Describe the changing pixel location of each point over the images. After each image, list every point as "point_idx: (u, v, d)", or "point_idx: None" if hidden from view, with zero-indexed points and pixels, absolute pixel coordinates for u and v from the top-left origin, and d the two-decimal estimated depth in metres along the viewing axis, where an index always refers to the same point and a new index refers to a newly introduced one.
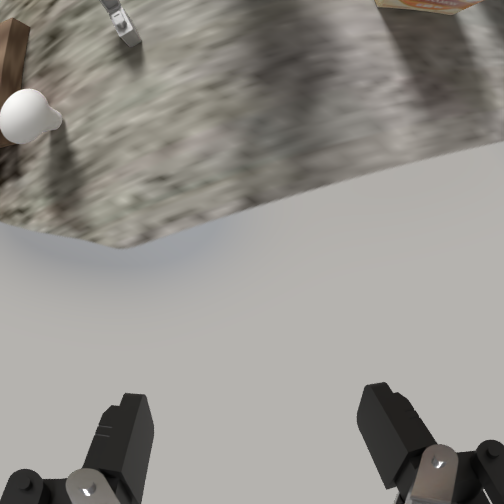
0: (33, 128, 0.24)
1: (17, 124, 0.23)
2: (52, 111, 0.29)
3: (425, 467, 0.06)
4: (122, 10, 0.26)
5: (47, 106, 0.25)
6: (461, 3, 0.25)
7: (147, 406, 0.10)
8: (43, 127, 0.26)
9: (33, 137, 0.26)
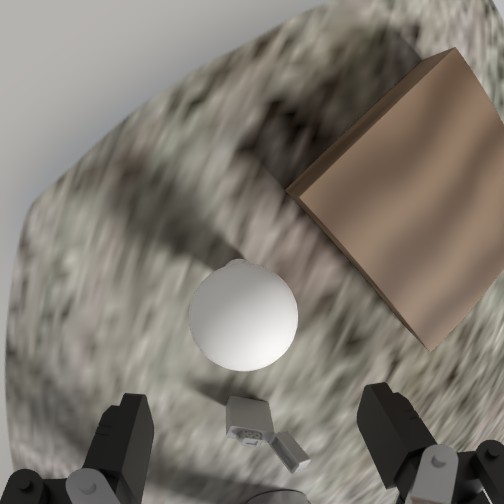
0: (191, 330, 0.17)
1: (212, 338, 0.15)
2: None
3: (425, 467, 0.06)
4: (261, 441, 0.26)
5: None
6: None
7: (147, 406, 0.10)
8: None
9: (190, 305, 0.17)
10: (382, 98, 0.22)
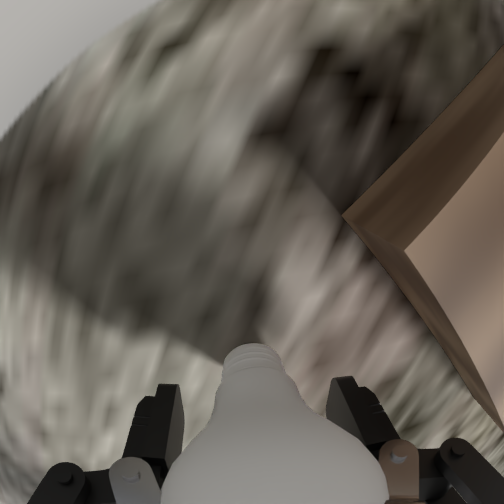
0: None
1: None
2: None
3: (385, 464, 0.06)
4: None
5: None
6: None
7: (180, 396, 0.11)
8: None
9: None
10: (486, 68, 0.10)
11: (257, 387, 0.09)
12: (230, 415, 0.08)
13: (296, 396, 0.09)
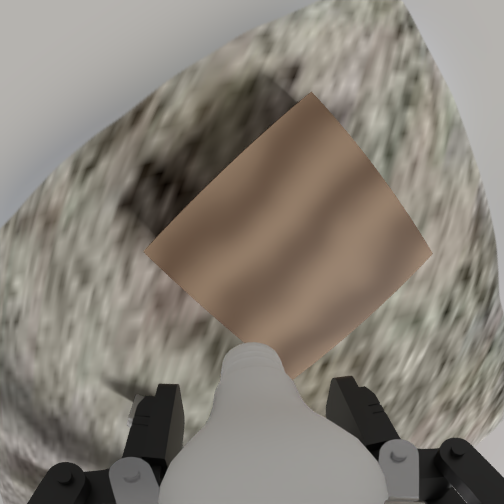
0: None
1: None
2: None
3: (385, 464, 0.06)
4: None
5: None
6: None
7: (180, 396, 0.11)
8: None
9: None
10: (243, 150, 0.27)
11: (256, 386, 0.09)
12: (228, 414, 0.08)
13: (295, 395, 0.09)
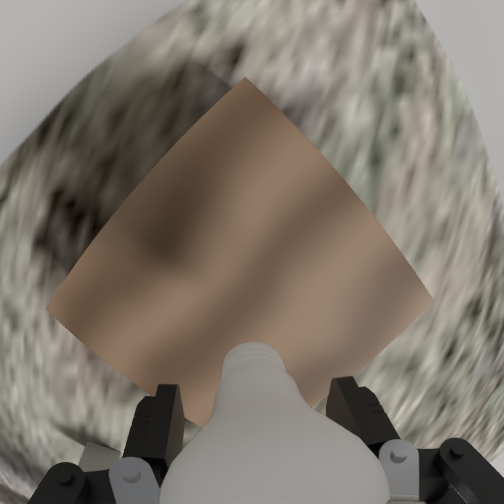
0: None
1: None
2: None
3: (385, 464, 0.06)
4: None
5: None
6: None
7: (180, 396, 0.11)
8: None
9: None
10: None
11: (257, 386, 0.09)
12: (230, 413, 0.08)
13: (296, 395, 0.09)
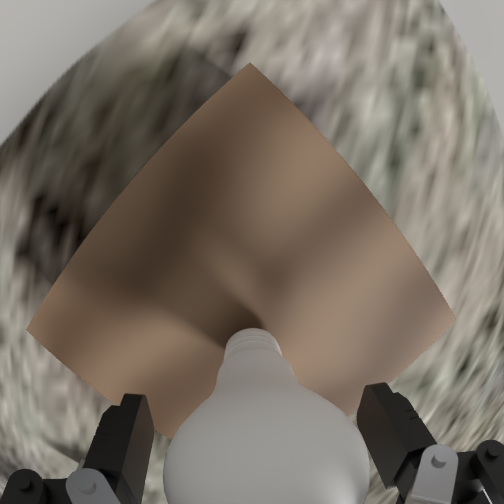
0: None
1: None
2: None
3: (425, 467, 0.06)
4: None
5: None
6: None
7: (147, 406, 0.10)
8: None
9: (165, 462, 0.07)
10: None
11: (256, 365, 0.11)
12: (231, 386, 0.09)
13: (290, 374, 0.11)
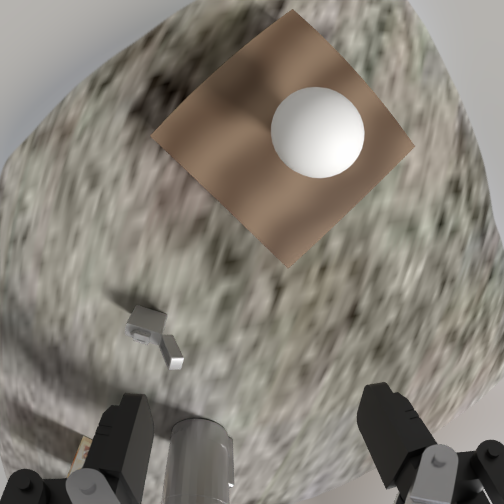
0: (276, 131, 0.18)
1: (302, 124, 0.17)
2: None
3: (425, 467, 0.06)
4: (152, 342, 0.34)
5: (289, 166, 0.21)
6: None
7: (147, 406, 0.10)
8: None
9: (273, 116, 0.19)
10: None
11: None
12: None
13: None
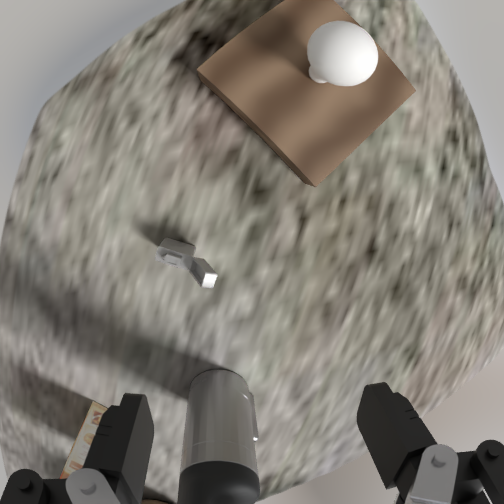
0: (313, 46, 0.21)
1: (334, 38, 0.20)
2: (322, 78, 0.26)
3: (425, 467, 0.06)
4: (183, 267, 0.36)
5: (322, 77, 0.23)
6: None
7: (147, 406, 0.10)
8: (308, 55, 0.23)
9: (309, 39, 0.22)
10: None
11: None
12: None
13: None
